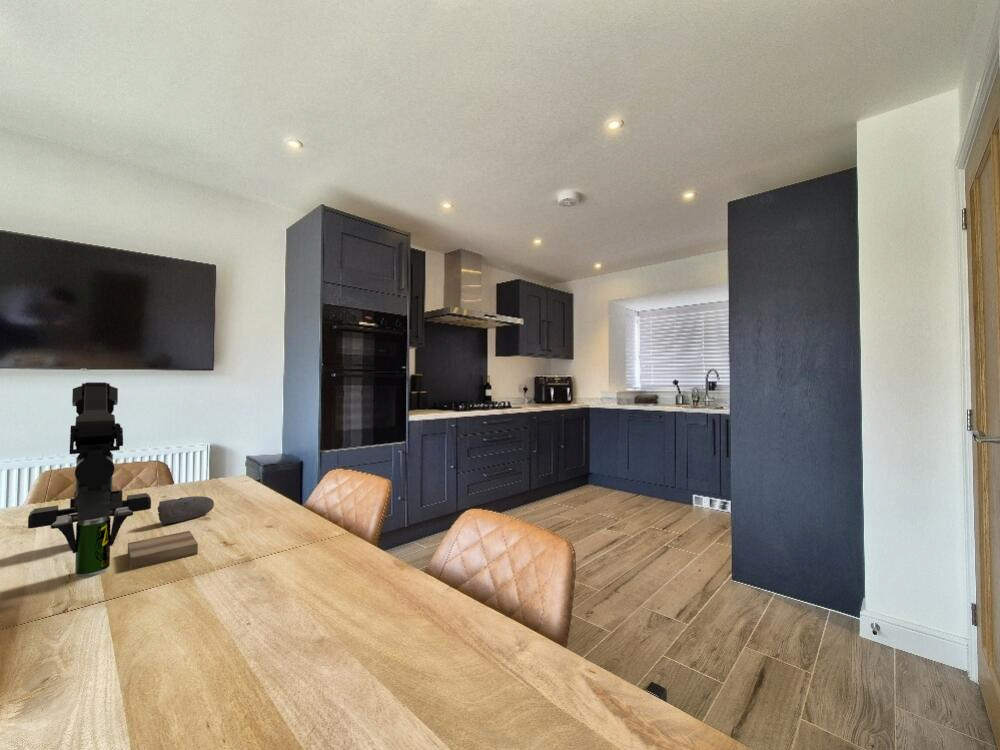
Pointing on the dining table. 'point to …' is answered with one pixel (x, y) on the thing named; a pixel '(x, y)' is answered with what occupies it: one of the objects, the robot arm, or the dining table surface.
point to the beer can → (92, 546)
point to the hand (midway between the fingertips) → (93, 548)
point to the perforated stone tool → (184, 508)
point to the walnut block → (161, 549)
